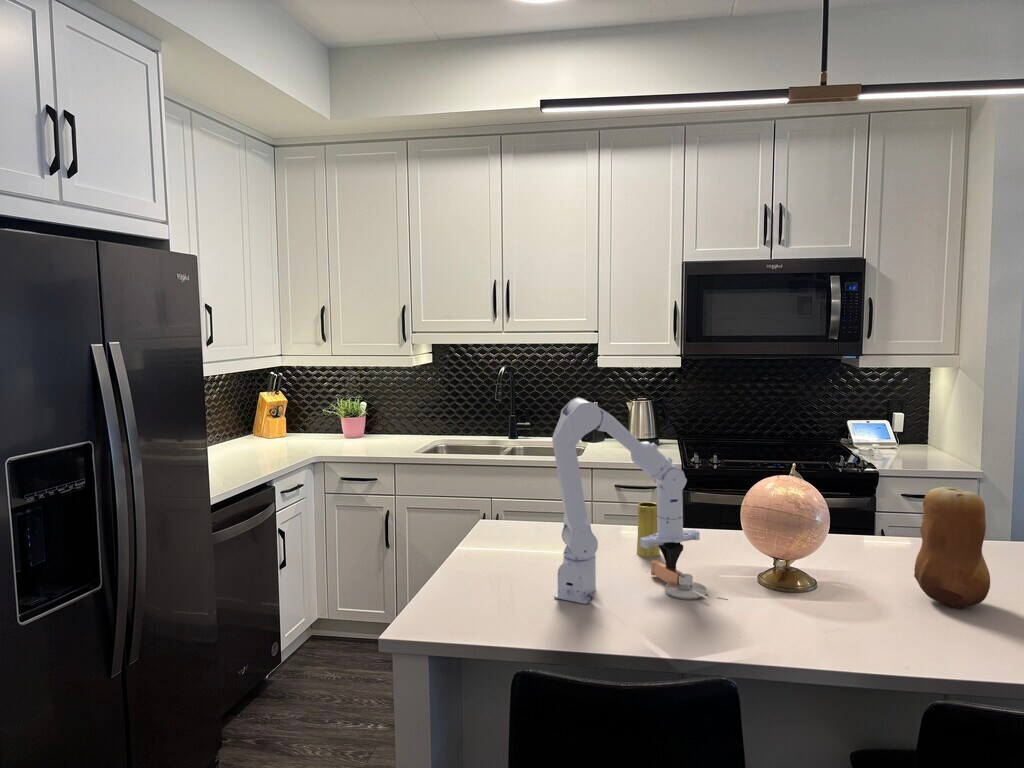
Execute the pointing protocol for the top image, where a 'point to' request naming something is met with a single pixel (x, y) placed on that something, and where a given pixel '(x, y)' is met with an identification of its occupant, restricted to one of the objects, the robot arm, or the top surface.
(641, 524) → the vase
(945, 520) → the butternut squash
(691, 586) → the pizza cutter
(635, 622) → the top surface
